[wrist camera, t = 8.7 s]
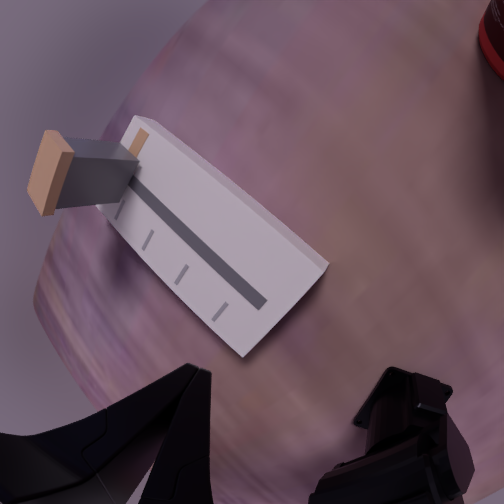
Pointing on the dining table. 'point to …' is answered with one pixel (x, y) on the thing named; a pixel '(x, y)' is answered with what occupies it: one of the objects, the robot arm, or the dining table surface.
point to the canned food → (493, 36)
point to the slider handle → (78, 172)
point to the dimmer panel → (210, 238)
